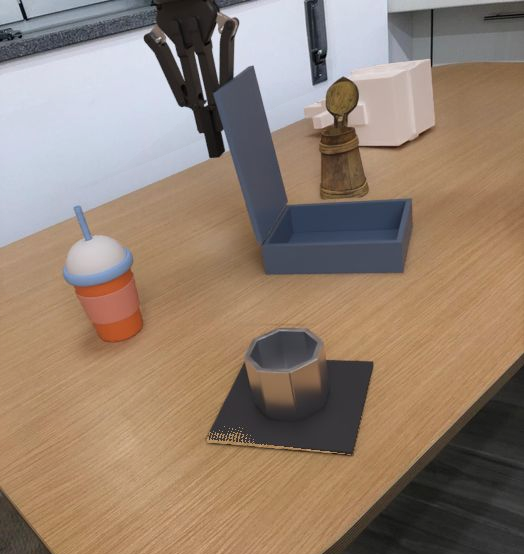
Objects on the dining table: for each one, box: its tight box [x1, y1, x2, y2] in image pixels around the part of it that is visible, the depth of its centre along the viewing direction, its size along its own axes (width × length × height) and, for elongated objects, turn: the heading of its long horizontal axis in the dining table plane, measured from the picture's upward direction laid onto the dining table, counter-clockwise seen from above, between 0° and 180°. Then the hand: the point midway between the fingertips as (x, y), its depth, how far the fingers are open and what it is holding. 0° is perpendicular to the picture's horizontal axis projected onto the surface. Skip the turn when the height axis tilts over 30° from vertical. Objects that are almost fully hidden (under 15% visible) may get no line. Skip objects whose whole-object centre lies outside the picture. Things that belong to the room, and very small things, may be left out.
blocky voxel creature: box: [303, 58, 436, 147], centre depth 132 cm, size 15×25×28 cm
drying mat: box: [205, 359, 375, 455], centre depth 64 cm, size 15×14×1 cm
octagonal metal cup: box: [243, 327, 330, 422], centre depth 62 cm, size 8×8×6 cm
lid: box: [213, 65, 289, 244], centre depth 85 cm, size 20×15×1 cm
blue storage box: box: [260, 197, 414, 276], centre depth 89 cm, size 20×15×5 cm
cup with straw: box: [62, 205, 144, 343], centre depth 78 cm, size 9×9×18 cm
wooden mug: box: [318, 76, 369, 200], centre depth 107 cm, size 9×14×18 cm, turn 164°
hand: (217, 154), depth 86 cm, fingers closed
